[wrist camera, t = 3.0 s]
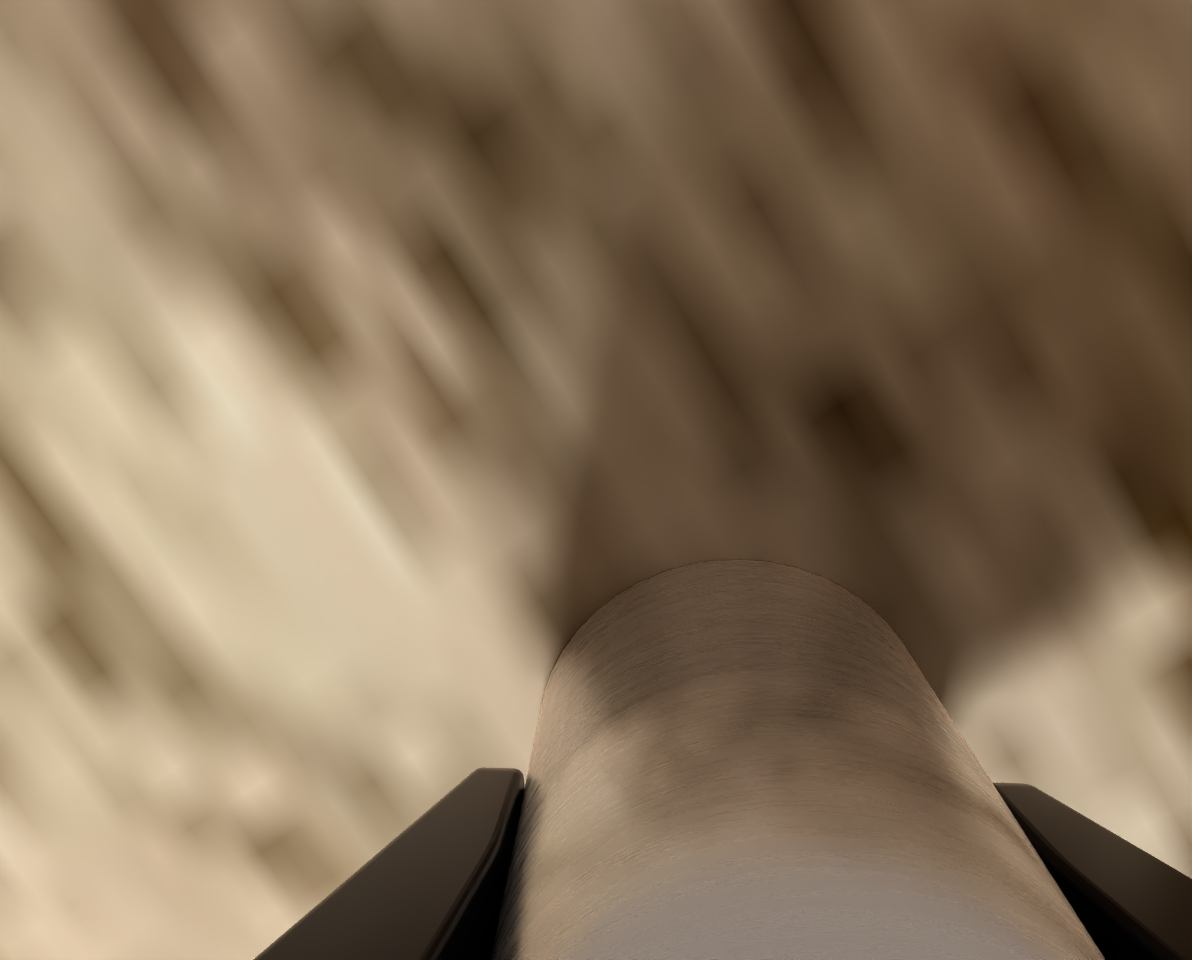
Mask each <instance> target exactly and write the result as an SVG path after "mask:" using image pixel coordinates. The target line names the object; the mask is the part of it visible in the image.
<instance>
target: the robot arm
mask: <svg viewBox="0 0 1192 960" xmlns="http://www.w3.org/2000/svg"><path fill="white" fill-rule="evenodd" d="M993 785H994V786H995V788H996V789H997V791H998V793H999V794H1000V796H1001V797H1002V799H1003V800H1004V802H1005V803H1006V805H1007V807H1008V808H1009V810H1010V811H1011V813H1012V814H1013V816H1014V818H1015V819H1016V821H1017V822H1018V824H1019V825H1020V827H1021V828H1022V830H1023V832H1024V833H1025V835H1026V836H1027V838H1028V839H1029V841H1030V843H1031V844H1032V846H1033V847H1034V849H1035V850H1036V852H1037V854H1038V855H1039V857H1040V858H1041V860H1042V861H1043V863H1044V864H1045V866H1046V868H1047V869H1048V871H1049V872H1050V874H1051V875H1052V877H1053V879H1054V880H1055V882H1056V883H1057V885H1058V886H1059V888H1060V889H1061V891H1062V893H1063V894H1064V896H1065V897H1066V899H1067V900H1068V902H1069V904H1070V905H1071V907H1072V908H1073V910H1074V911H1075V913H1076V914H1077V916H1078V918H1079V919H1080V921H1081V922H1082V924H1083V925H1084V927H1085V929H1086V930H1087V932H1088V933H1089V935H1090V936H1091V938H1092V940H1093V941H1094V943H1095V944H1096V946H1097V947H1098V949H1099V950H1100V952H1101V954H1102V955H1103V957H1104V958H1105V960H1192V879H1191V878H1189V877H1188V876H1186V875H1184V874H1182V873H1181V872H1179V871H1177V870H1176V869H1174V868H1172V867H1170V866H1169V865H1167V864H1165V863H1164V862H1162V861H1160V860H1158V859H1157V858H1155V857H1153V856H1152V855H1150V854H1148V853H1147V852H1145V851H1143V850H1141V849H1140V848H1138V847H1136V846H1135V845H1133V844H1131V843H1129V842H1128V841H1126V840H1124V839H1123V838H1121V837H1119V836H1117V835H1116V834H1114V833H1112V832H1111V831H1109V830H1107V829H1106V828H1104V827H1102V826H1100V825H1099V824H1097V823H1095V822H1094V821H1092V820H1090V819H1088V818H1087V817H1085V816H1083V815H1082V814H1080V813H1078V812H1077V811H1075V810H1073V809H1071V808H1070V807H1068V806H1066V805H1065V804H1063V803H1061V802H1059V801H1058V800H1056V799H1054V798H1053V797H1051V796H1049V795H1048V794H1046V793H1044V792H1042V791H1041V790H1039V789H1037V788H1036V787H1034V786H1032V785H1028V784H1019V783H993ZM524 790H525V788H524V777H523V774H522V772H521V771H520V770H518V769H511V768H479V769H477V770H475V771H474V772H472V773H471V774H470V775H469V776H468V777H467V778H465V779H464V780H463V781H462V782H461V783H460V784H458V785H457V786H456V787H455V788H454V789H453V790H451V791H450V792H449V793H448V794H447V795H446V796H444V797H443V798H442V799H441V800H440V801H438V802H437V803H436V804H435V805H434V806H433V807H431V808H430V809H429V810H428V811H427V812H426V813H424V814H423V815H422V816H421V817H420V818H419V819H417V820H416V821H415V822H414V823H413V824H412V825H410V826H409V827H408V828H407V829H406V830H405V831H403V832H402V833H401V834H400V835H399V836H398V837H396V838H395V839H394V840H393V841H392V842H391V843H389V844H388V845H387V846H386V847H385V848H384V849H382V850H381V851H380V852H379V853H378V854H376V855H375V856H374V857H373V858H372V859H371V860H369V861H368V862H367V863H366V864H365V865H364V866H362V867H361V868H360V869H359V870H358V871H357V872H355V873H354V874H353V875H352V876H351V877H350V878H348V879H347V880H346V881H345V882H344V883H343V884H341V885H340V886H339V887H338V888H337V889H336V890H334V891H333V892H332V893H331V894H330V895H329V896H327V897H326V898H325V899H324V900H323V901H322V902H320V903H319V904H318V905H317V906H316V907H314V908H313V909H312V910H311V911H310V912H309V913H307V914H306V915H305V916H304V917H303V918H302V919H300V920H299V921H298V922H297V923H296V924H295V925H293V926H292V927H291V928H290V929H289V930H288V931H286V932H285V933H284V934H283V935H282V936H281V937H279V938H278V939H277V940H276V941H275V942H274V943H272V944H271V945H270V946H269V947H268V948H267V949H265V950H264V951H263V952H262V953H261V954H260V955H258V956H257V957H256V958H255V959H254V960H491V957H492V952H493V946H494V941H495V936H496V931H497V926H498V921H499V916H500V911H501V906H502V901H503V896H504V891H505V886H506V881H507V876H508V871H509V866H510V861H511V855H512V850H513V845H514V840H515V835H516V830H517V825H518V820H519V815H520V810H521V805H522V800H523V795H524Z"/></svg>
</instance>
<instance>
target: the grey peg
mask: <svg viewBox="0 0 1192 960" xmlns="http://www.w3.org/2000/svg"><path fill="white" fill-rule="evenodd" d="M491 960H1105V958H1104V957H1103V955H1102V954H1101V952H1100V950H1099V949H1098V947H1097V946H1096V944H1095V943H1094V941H1093V940H1092V938H1091V936H1090V935H1089V933H1088V932H1087V930H1086V929H1085V927H1084V925H1083V924H1082V922H1081V921H1080V919H1079V918H1078V916H1077V914H1076V913H1075V911H1074V910H1073V908H1072V907H1071V905H1070V904H1069V902H1068V900H1067V899H1066V897H1065V896H1064V894H1063V893H1062V891H1061V889H1060V888H1059V886H1058V885H1057V883H1056V882H1055V880H1054V879H1053V877H1052V875H1051V874H1050V872H1049V871H1048V869H1047V868H1046V866H1045V864H1044V863H1043V861H1042V860H1041V858H1040V857H1039V855H1038V854H1037V852H1036V850H1035V849H1034V847H1033V846H1032V844H1031V843H1030V841H1029V839H1028V838H1027V836H1026V835H1025V833H1024V832H1023V830H1022V828H1021V827H1020V825H1019V824H1018V822H1017V821H1016V819H1015V818H1014V816H1013V814H1012V813H1011V811H1010V810H1009V808H1008V807H1007V805H1006V803H1005V802H1004V800H1003V799H1002V797H1001V796H1000V794H999V793H998V791H997V789H996V788H995V786H994V785H993V783H992V782H991V780H990V778H989V777H988V775H987V774H986V772H985V771H984V769H983V768H982V766H981V764H980V763H979V761H978V760H977V758H976V757H975V755H974V753H973V752H972V750H971V749H970V747H969V746H968V744H967V742H966V741H965V739H964V738H963V736H962V735H961V733H960V732H959V730H958V728H957V727H956V725H955V724H954V722H953V721H952V719H951V717H950V716H949V714H948V713H947V711H946V710H945V708H944V707H943V705H942V703H941V702H940V700H939V699H938V697H937V696H936V694H935V692H934V691H933V689H932V688H931V686H930V685H929V683H928V682H927V680H926V678H925V677H924V675H923V674H922V672H921V671H920V669H919V667H918V666H917V664H916V663H915V661H914V660H913V658H912V656H911V655H910V653H909V652H908V650H907V649H906V647H905V646H904V644H903V642H902V641H901V639H900V638H899V637H898V635H897V634H896V633H895V632H894V631H893V629H892V628H891V627H890V626H889V625H888V623H887V622H886V621H885V620H884V619H883V618H882V617H881V616H880V615H879V614H878V613H877V612H875V611H874V610H873V609H872V608H871V607H870V606H869V605H868V604H867V603H865V602H864V601H863V600H861V599H860V598H858V597H857V596H855V595H854V594H852V593H851V592H849V591H848V590H846V589H845V588H843V587H841V586H839V585H837V584H835V583H833V582H831V581H829V580H827V579H825V578H823V577H821V576H819V575H816V574H813V573H810V572H807V571H804V570H801V569H798V568H796V567H791V566H786V565H782V564H777V563H772V562H766V561H754V560H716V561H709V562H703V563H697V564H690V565H686V566H682V567H679V568H676V569H672V570H669V571H665V572H662V573H660V574H657V575H655V576H653V577H650V578H648V579H646V580H643V581H641V582H639V583H637V584H635V585H634V586H632V587H630V588H628V589H627V590H625V591H623V592H622V593H620V594H618V595H617V596H615V597H614V598H613V599H611V600H610V601H609V602H607V603H606V604H605V605H604V606H602V607H601V608H600V609H598V610H597V611H596V612H595V613H594V614H593V615H592V616H591V617H590V618H589V619H588V620H587V621H586V622H585V623H584V624H583V625H582V626H581V627H580V628H579V629H578V630H577V632H576V633H575V634H574V636H573V637H572V639H571V640H570V641H569V643H568V644H567V645H566V647H565V648H564V649H563V651H562V653H561V655H560V657H559V659H558V660H557V662H556V664H555V666H554V668H553V670H552V672H551V675H550V677H549V680H548V683H547V686H546V688H545V691H544V695H543V700H542V704H541V709H540V714H539V719H538V724H537V729H536V734H535V739H534V744H533V749H532V754H531V759H530V764H529V769H528V774H527V779H526V785H525V790H524V795H523V800H522V805H521V810H520V815H519V820H518V825H517V830H516V835H515V840H514V845H513V850H512V855H511V861H510V866H509V871H508V876H507V881H506V886H505V891H504V896H503V901H502V906H501V911H500V916H499V921H498V926H497V931H496V936H495V941H494V946H493V952H492V957H491Z"/></svg>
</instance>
